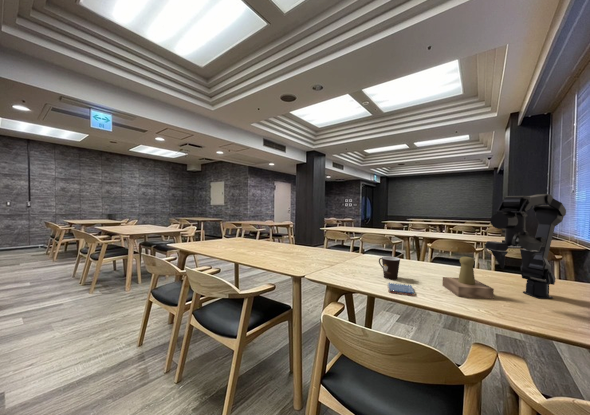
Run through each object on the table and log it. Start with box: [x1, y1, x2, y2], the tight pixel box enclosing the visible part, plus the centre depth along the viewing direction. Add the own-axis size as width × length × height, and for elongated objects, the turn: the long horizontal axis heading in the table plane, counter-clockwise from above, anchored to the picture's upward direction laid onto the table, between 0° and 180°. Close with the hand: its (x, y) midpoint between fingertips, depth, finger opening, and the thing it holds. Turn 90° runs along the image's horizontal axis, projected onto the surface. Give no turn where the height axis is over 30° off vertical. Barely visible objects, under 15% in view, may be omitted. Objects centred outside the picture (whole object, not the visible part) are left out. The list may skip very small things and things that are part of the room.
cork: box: [458, 256, 476, 285], centre depth 101 cm, size 6×6×11 cm
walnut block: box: [442, 276, 495, 299], centre depth 101 cm, size 13×13×4 cm
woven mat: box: [387, 282, 416, 297], centre depth 101 cm, size 10×11×2 cm
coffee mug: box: [378, 255, 401, 281], centre depth 120 cm, size 12×9×10 cm
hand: (514, 268), depth 91 cm, fingers open, 9 cm apart
